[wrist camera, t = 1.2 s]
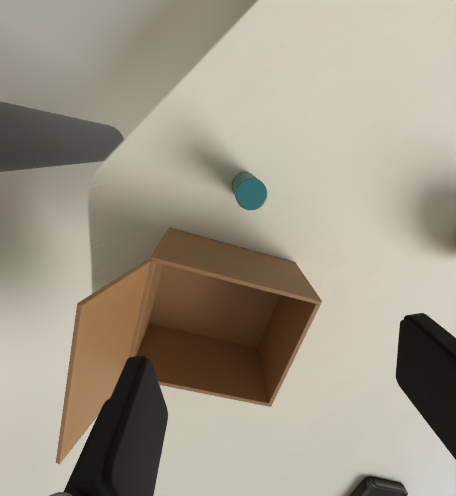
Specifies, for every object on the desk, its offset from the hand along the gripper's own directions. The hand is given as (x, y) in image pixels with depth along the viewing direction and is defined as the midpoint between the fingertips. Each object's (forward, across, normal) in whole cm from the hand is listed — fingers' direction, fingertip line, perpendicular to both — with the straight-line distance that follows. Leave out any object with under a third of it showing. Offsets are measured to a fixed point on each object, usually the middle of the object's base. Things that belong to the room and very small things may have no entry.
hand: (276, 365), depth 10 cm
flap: (+8, +11, +5) cm, 14 cm away
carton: (+20, +4, +8) cm, 22 cm away
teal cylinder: (+20, -1, -4) cm, 21 cm away
